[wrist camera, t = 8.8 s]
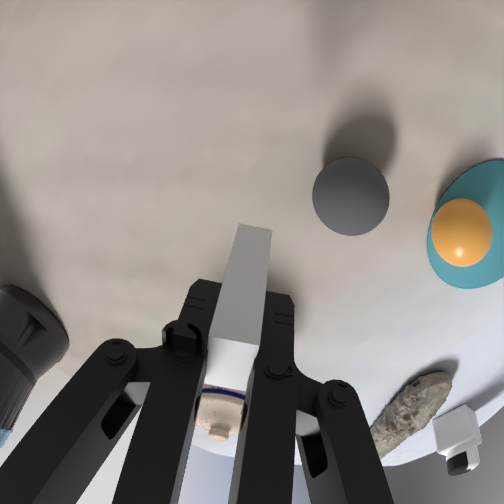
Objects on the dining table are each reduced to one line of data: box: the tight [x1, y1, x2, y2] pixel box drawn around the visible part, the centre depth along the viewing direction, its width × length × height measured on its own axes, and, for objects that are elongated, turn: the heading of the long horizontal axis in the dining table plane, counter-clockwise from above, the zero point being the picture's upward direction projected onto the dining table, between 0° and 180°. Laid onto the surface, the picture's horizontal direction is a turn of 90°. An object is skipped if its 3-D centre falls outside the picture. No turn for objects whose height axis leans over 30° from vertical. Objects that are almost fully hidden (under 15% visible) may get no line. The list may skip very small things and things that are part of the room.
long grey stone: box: [370, 372, 452, 459], centre depth 44 cm, size 35×5×10 cm
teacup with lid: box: [196, 383, 246, 441], centre depth 31 cm, size 12×9×12 cm
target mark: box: [427, 160, 504, 289], centre depth 24 cm, size 14×14×1 cm
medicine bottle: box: [432, 404, 482, 476], centre depth 39 cm, size 7×7×12 cm
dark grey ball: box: [312, 157, 389, 236], centre depth 21 cm, size 6×6×6 cm
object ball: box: [431, 198, 493, 267], centre depth 21 cm, size 6×6×6 cm
